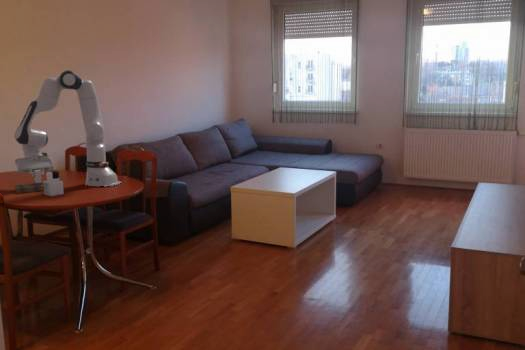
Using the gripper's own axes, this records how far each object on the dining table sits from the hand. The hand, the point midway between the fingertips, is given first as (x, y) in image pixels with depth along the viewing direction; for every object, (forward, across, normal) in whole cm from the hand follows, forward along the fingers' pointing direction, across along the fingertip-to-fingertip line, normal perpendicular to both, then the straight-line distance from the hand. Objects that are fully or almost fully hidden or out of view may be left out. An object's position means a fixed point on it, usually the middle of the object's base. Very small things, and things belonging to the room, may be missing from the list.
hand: (38, 176), depth 310 cm
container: (+18, +4, -7) cm, 20 cm away
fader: (+3, 0, +4) cm, 5 cm away
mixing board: (+5, -2, +6) cm, 8 cm away
